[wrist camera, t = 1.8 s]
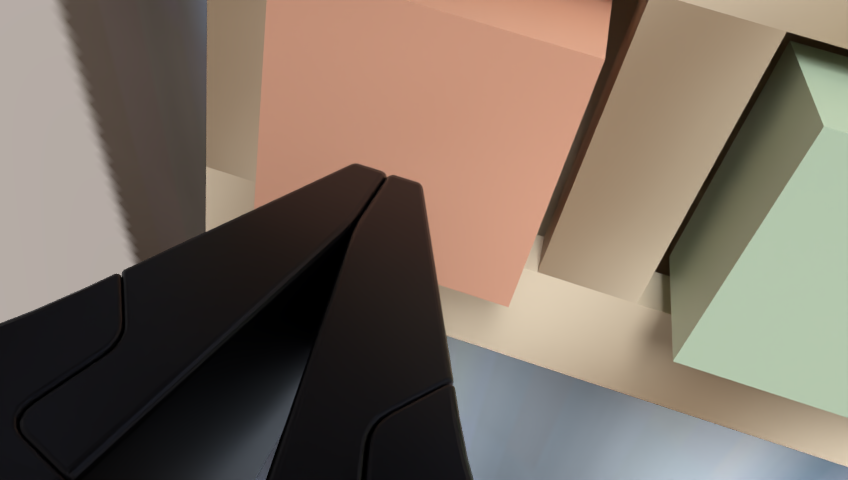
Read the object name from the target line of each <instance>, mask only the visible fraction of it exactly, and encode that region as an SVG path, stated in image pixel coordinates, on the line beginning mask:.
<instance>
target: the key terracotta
mask: <svg viewBox="0 0 848 480" xmlns="http://www.w3.org/2000/svg"><path fill="white" fill-rule="evenodd" d="M611 6H612V0H267V2H266V18H265V35H264V51H263V68H262V85H261V101H260V118H259V134H258V151H257V167H256V184H255V200H254V209H256V208H258V207H260V206H262V205H265V204H267V203H269V202H271V201H273V200H275V199H278V198H280V197H282V196H284V195H286V194H288V193H290V192H293V191H295V190H297V189H299V188H301V187H303V186H305V185H308V184H310V183H312V182H314V181H316V180H318V179H320V178H323V177H325V176H327V175H329V174H331V173H333V172H335V171H338V170H340V169H342V168H344V167H346V166H348V165H351V164H354V163H358V164H361V165H365V166H368V167H371V168H374V169H377V170H380V171H383V172H385V174H386V176H387V177H388V176H390V175H396V176H399V177H403V178H406V179H409V180H412V181H416V182H419V183H420V184H421V185H422V187H423V191H424V197H425V204H426V210H427V216H428V223H429V229H430V235H431V242H432V248H433V255H434V261H435V267H436V274H437V280H438V285H441V286H444V287H447V288H450V289H453V290H456V291H460V292H463V293H466V294H469V295H472V296H475V297H478V298H481V299H484V300H487V301H491V302H494V303H497V304H500V305H503V306H506V307H509V304H510V302H511V299H512V297H513V294H514V292H515V289H516V287H517V284H518V281H519V279H520V276H521V274H522V271H523V269H524V266H525V263H526V261H527V258H528V256H529V253H530V251H531V248H532V246H533V243H534V240H535V238H536V235H537V233H538V230H539V228H540V225H541V222H542V220H543V217H544V215H545V212H546V210H547V207H548V205H549V202H550V199H551V197H552V194H553V192H554V189H555V187H556V184H557V181H558V179H559V176H560V174H561V171H562V169H563V166H564V164H565V161H566V158H567V156H568V153H569V151H570V148H571V146H572V143H573V140H574V138H575V135H576V133H577V130H578V128H579V125H580V123H581V120H582V117H583V115H584V112H585V110H586V107H587V105H588V102H589V99H590V97H591V94H592V92H593V89H594V87H595V84H596V82H597V79H598V76H599V74H600V71H601V69H602V66H603V64H604V61H605V56H606V48H607V39H608V31H609V23H610V14H611Z"/></svg>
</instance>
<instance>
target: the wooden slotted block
mask: <svg viewBox="0 0 848 480" xmlns="http://www.w3.org/2000/svg"><path fill="white" fill-rule="evenodd" d="M266 2H267V0H207V113H206V232H207V231H209V230H211V229H213V228H215V227H217V226H220V225H222V224H224V223H226V222H228V221H230V220H232V219H235V218H237V217H239V216H241V215H243V214H245V213H247V212H250V211H252V210H254V200H255V184H256V167H257V151H258V134H259V118H260V101H261V85H262V68H263V51H264V35H265V18H266ZM789 41H794V42H797V43H800V44H804V45H807V46H811V47H814V48H818V49H821V50H825V51H828V52H831V53H835V54H838V55H842V56H845V57H848V0H612V6H611V14H610V23H609V31H608V39H607V48H606V56H605V61H604V64H603V66H602V69H601V71H600V74H599V76H598V79H597V82H596V84H595V87H594V89H593V92H592V94H591V97H590V99H589V102H588V105H587V107H586V110H585V112H584V115H583V117H582V120H581V123H580V125H579V128H578V130H577V133H576V135H575V138H574V140H573V143H572V146H571V148H570V151H569V153H568V156H567V158H566V161H565V164H564V166H563V169H562V171H561V174H560V176H559V179H558V181H557V184H556V187H555V189H554V192H553V194H552V197H551V199H550V202H549V205H548V207H547V210H546V212H545V215H544V217H543V220H542V222H541V225H540V228H539V230H538V233H537V235H536V238H535V240H534V243H533V246H532V248H531V251H530V253H529V256H528V258H527V261H526V263H525V266H524V269H523V271H522V274H521V276H520V279H519V281H518V284H517V287H516V289H515V292H514V294H513V297H512V299H511V302H510V304H509V307H506V306H503V305H500V304H497V303H494V302H491V301H487V300H484V299H481V298H478V297H475V296H472V295H469V294H466V293H463V292H460V291H456V290H453V289H450V288H447V287H444V286H441V285H438V286H439V293H440V299H441V305H442V312H443V318H444V325H445V331H446V336H449V337H452V338H455V339H458V340H461V341H465V342H468V343H471V344H474V345H477V346H480V347H483V348H486V349H489V350H492V351H495V352H498V353H501V354H504V355H507V356H510V357H513V358H516V359H520V360H523V361H526V362H529V363H532V364H535V365H538V366H541V367H544V368H547V369H550V370H553V371H556V372H559V373H562V374H565V375H568V376H571V377H574V378H578V379H581V380H584V381H587V382H590V383H593V384H596V385H599V386H602V387H605V388H608V389H611V390H614V391H617V392H620V393H623V394H626V395H629V396H633V397H636V398H639V399H642V400H645V401H648V402H651V403H654V404H657V405H660V406H663V407H666V408H669V409H672V410H675V411H678V412H681V413H684V414H688V415H691V416H694V417H697V418H700V419H703V420H706V421H709V422H712V423H715V424H718V425H721V426H724V427H727V428H730V429H733V430H736V431H739V432H742V433H746V434H749V435H752V436H755V437H758V438H761V439H764V440H767V441H770V442H773V443H776V444H779V445H782V446H785V447H788V448H791V449H794V450H797V451H801V452H804V453H807V454H810V455H813V456H816V457H819V458H822V459H825V460H828V461H831V462H834V463H837V464H840V465H843V466H846V467H848V418H847V417H844V416H840V415H837V414H834V413H831V412H828V411H825V410H822V409H819V408H816V407H813V406H810V405H806V404H803V403H800V402H797V401H794V400H791V399H788V398H785V397H782V396H779V395H775V394H772V393H769V392H766V391H763V390H760V389H757V388H754V387H751V386H748V385H744V384H741V383H738V382H735V381H732V380H729V379H726V378H723V377H720V376H717V375H714V374H710V373H707V372H704V371H701V370H698V369H695V368H692V367H689V366H686V365H683V364H679V363H676V362H673V349H672V320H671V291H670V262H669V256H670V254H671V253H672V251H673V249H674V247H675V245H676V244H677V242H678V240H679V238H680V236H681V235H682V233H683V231H684V229H685V227H686V226H687V224H688V222H689V220H690V218H691V217H692V215H693V213H694V211H695V210H696V208H697V206H698V204H699V202H700V201H701V199H702V197H703V195H704V193H705V192H706V190H707V188H708V186H709V184H710V183H711V181H712V179H713V177H714V175H715V174H716V172H717V170H718V168H719V167H720V165H721V163H722V161H723V159H724V158H725V156H726V154H727V152H728V150H729V149H730V147H731V145H732V143H733V141H734V140H735V138H736V136H737V134H738V132H739V131H740V129H741V127H742V125H743V124H744V122H745V120H746V118H747V116H748V115H749V113H750V111H751V109H752V107H753V106H754V104H755V102H756V100H757V98H758V97H759V95H760V93H761V91H762V89H763V88H764V86H765V84H766V82H767V81H768V79H769V77H770V75H771V73H772V72H773V70H774V68H775V66H776V64H777V63H778V61H779V59H780V57H781V55H782V54H783V52H784V50H785V48H786V46H787V45H788V43H789Z"/></svg>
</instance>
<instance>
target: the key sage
mask: <svg viewBox="0 0 848 480" xmlns="http://www.w3.org/2000/svg"><path fill="white" fill-rule="evenodd" d="M669 262H670V291H671V320H672V349H673V362H676V363H679V364H683V365H686V366H689V367H692V368H695V369H698V370H701V371H704V372H707V373H710V374H714V375H717V376H720V377H723V378H726V379H729V380H732V381H735V382H738V383H741V384H744V385H748V386H751V387H754V388H757V389H760V390H763V391H766V392H769V393H772V394H775V395H779V396H782V397H785V398H788V399H791V400H794V401H797V402H800V403H803V404H806V405H810V406H813V407H816V408H819V409H822V410H825V411H828V412H831V413H834V414H837V415H840V416H844V417H847V418H848V57H845V56H842V55H838V54H835V53H831V52H828V51H825V50H821V49H818V48H814V47H811V46H807V45H804V44H800V43H797V42H794V41H789V43H788V45H787V46H786V48H785V50H784V52H783V54H782V55H781V57H780V59H779V61H778V63H777V64H776V66H775V68H774V70H773V72H772V73H771V75H770V77H769V79H768V81H767V82H766V84H765V86H764V88H763V89H762V91H761V93H760V95H759V97H758V98H757V100H756V102H755V104H754V106H753V107H752V109H751V111H750V113H749V115H748V116H747V118H746V120H745V122H744V124H743V125H742V127H741V129H740V131H739V132H738V134H737V136H736V138H735V140H734V141H733V143H732V145H731V147H730V149H729V150H728V152H727V154H726V156H725V158H724V159H723V161H722V163H721V165H720V167H719V168H718V170H717V172H716V174H715V175H714V177H713V179H712V181H711V183H710V184H709V186H708V188H707V190H706V192H705V193H704V195H703V197H702V199H701V201H700V202H699V204H698V206H697V208H696V210H695V211H694V213H693V215H692V217H691V218H690V220H689V222H688V224H687V226H686V227H685V229H684V231H683V233H682V235H681V236H680V238H679V240H678V242H677V244H676V245H675V247H674V249H673V251H672V253H671V254H670V256H669Z"/></svg>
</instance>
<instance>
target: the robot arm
mask: <svg viewBox="0 0 848 480" xmlns="http://www.w3.org/2000/svg"><path fill="white" fill-rule="evenodd" d="M281 434H282V435H281ZM280 435H281V438H280V440H279V443H278V446H277V449H276V452H275V455H274V458H273V461H272V464H271V466H270V469H269V472H268V475H267V478H266V480H473V476H472V472H471V469H470V465H469V462H468V457H467V452H466V447H465V442H464V437H463V432H462V427H461V422H460V417H459V411H458V405H457V398H456V392H455V388H454V386H453V375H452V369H451V363H450V356H449V350H448V344H447V337H446V331H445V325H444V318H443V312H442V305H441V299H440V293H439V286H438V280H437V274H436V267H435V261H434V255H433V248H432V242H431V235H430V229H429V223H428V216H427V210H426V204H425V197H424V191H423V187H422V185H421V184H420V183H419V182H416V181H412V180H409V179H406V178H403V177H399V176H396V175H390V176H388V177H387V176H386V174H385V172H383V171H380V170H377V169H374V168H371V167H368V166H365V165H361V164H358V163H354V164H351V165H348V166H346V167H344V168H342V169H340V170H338V171H335V172H333V173H331V174H329V175H327V176H325V177H323V178H320V179H318V180H316V181H314V182H312V183H310V184H308V185H305V186H303V187H301V188H299V189H297V190H295V191H293V192H290V193H288V194H286V195H284V196H282V197H280V198H278V199H275V200H273V201H271V202H269V203H267V204H265V205H262V206H260V207H258V208H256V209H254V210H252V211H250V212H247V213H245V214H243V215H241V216H239V217H237V218H235V219H232V220H230V221H228V222H226V223H224V224H222V225H220V226H217V227H215V228H213V229H211V230H209V231H207V232H205V233H202V234H200V235H198V236H196V237H194V238H192V239H190V240H187V241H185V242H183V243H181V244H179V245H177V246H175V247H172V248H170V249H168V250H166V251H164V252H162V253H159V254H157V255H155V256H153V257H151V258H149V259H147V260H144V261H142V262H140V263H138V264H136V265H134V266H132V267H129V268H127V269H125V270H124V271H123V272H122V277H121V275H119V274H114V275H112V276H110V277H107V278H106V279H103V280H101V281H99V282H97V283H95V284H92V285H90V286H88V287H86V288H84V289H81V290H79V291H77V292H75V293H73V294H70V295H68V296H66V297H63V298H61V299H59V300H57V301H54V302H52V303H49V304H47V305H45V306H43V307H40V308H38V309H36V310H33V311H31V312H28V313H26V314H23V315H21V316H18V317H15V318H13V319H10V320H8V321H5V322H2V323H0V480H255V479H256V477H257V476H258V474H259V472H260V470H261V469H262V467H263V465H264V463H265V462H266V460H267V458H268V456H269V455H270V453H271V451H272V449H273V448H274V446H275V444H276V442H277V441H278V439H279V437H280Z"/></svg>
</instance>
